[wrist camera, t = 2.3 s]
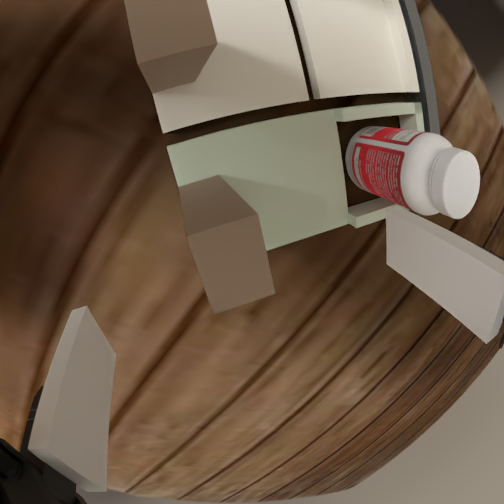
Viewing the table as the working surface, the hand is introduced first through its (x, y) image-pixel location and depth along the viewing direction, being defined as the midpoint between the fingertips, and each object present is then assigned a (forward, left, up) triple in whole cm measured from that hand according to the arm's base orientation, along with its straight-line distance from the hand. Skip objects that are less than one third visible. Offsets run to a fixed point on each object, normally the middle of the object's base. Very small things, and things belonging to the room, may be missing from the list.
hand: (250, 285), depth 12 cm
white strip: (+15, +11, -13) cm, 23 cm away
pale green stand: (+9, 0, -13) cm, 16 cm away
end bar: (+21, +6, -13) cm, 26 cm away
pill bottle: (+15, 0, -13) cm, 20 cm away
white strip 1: (+4, +11, -13) cm, 17 cm away
